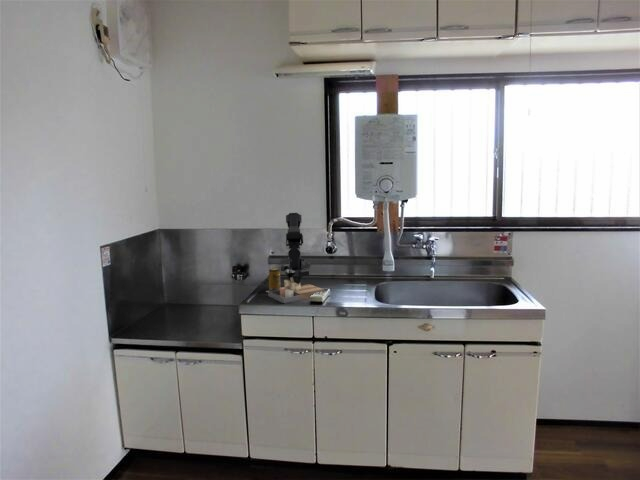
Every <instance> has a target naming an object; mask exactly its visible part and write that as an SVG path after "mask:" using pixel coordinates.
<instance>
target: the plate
mask: <svg viewBox="0 0 640 480" xmlns="http://www.w3.org/2000/svg"><path fill="white" fill-rule="evenodd" d="M321 291H325V289H324V288H321V287H318V286H316V285H313V284H309V283H308V284H303V285H302V284H301V289H299V292H298V293H296V292H293V293H295V294H298V295H300V297H301V301H302V300H307V299H311V298H310V296H311V295H313V294H314V293H316V292H321Z"/></svg>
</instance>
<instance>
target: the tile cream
mask: <svg viewBox="0 0 640 480" xmlns="http://www.w3.org/2000/svg"><path fill="white" fill-rule="evenodd" d="M292 296H293V290H290V289H287V290H285V298H286V297H292Z"/></svg>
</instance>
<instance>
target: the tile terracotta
mask: <svg viewBox="0 0 640 480" xmlns="http://www.w3.org/2000/svg"><path fill="white" fill-rule="evenodd" d="M287 289H288V288H285V286H281V288H280V296H282V297H285V290H287Z"/></svg>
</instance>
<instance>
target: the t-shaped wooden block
mask: <svg viewBox="0 0 640 480" xmlns="http://www.w3.org/2000/svg"><path fill="white" fill-rule="evenodd" d="M290 278H291V281H290V280H289V279H284V280H283V285H284V286H283V287H285V288H288V289H290V290H293V292H296V293H298V292H299V289H301V286H302V285H301V286H300V283H299V284H297V283H294V280H293V277H290Z"/></svg>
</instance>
